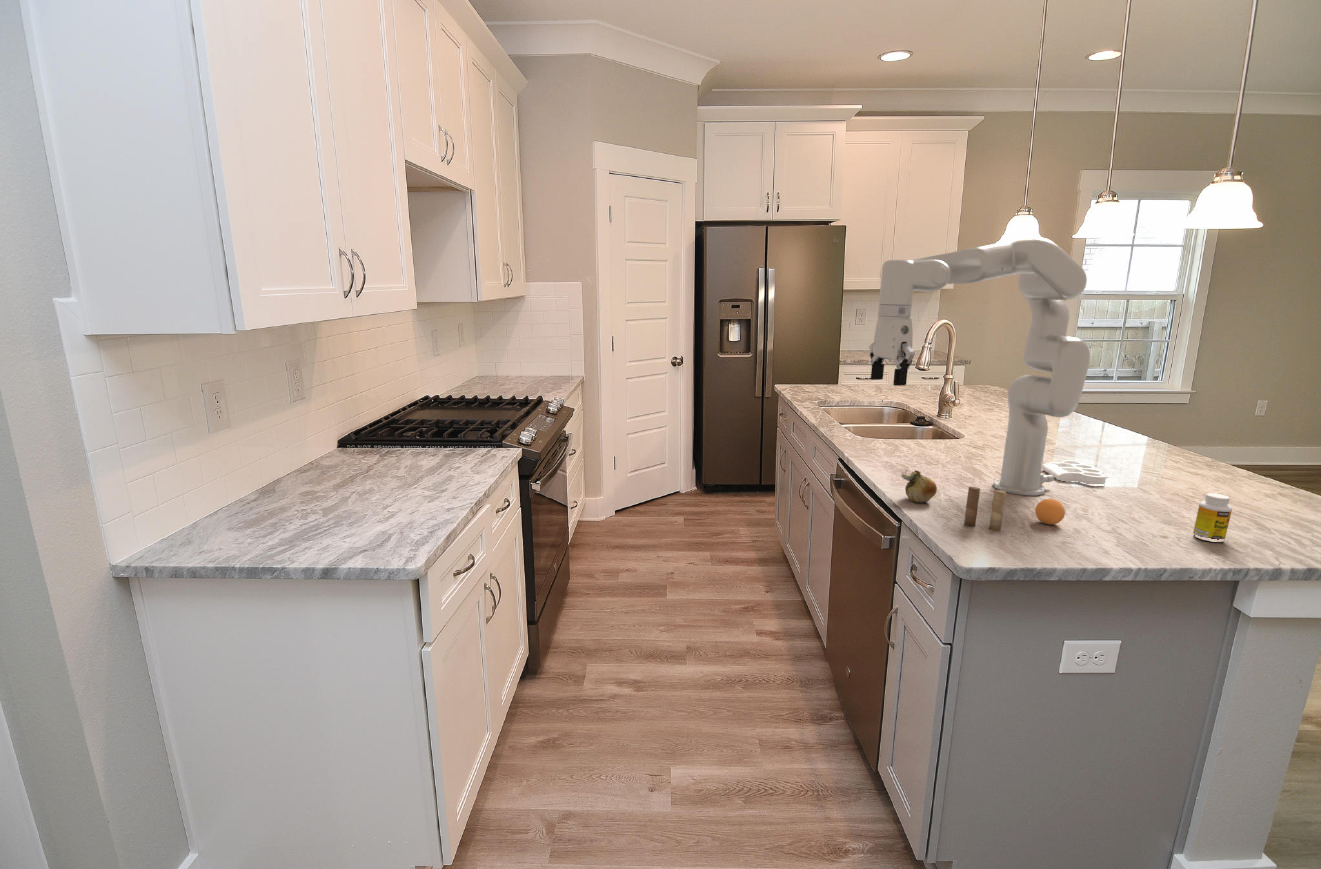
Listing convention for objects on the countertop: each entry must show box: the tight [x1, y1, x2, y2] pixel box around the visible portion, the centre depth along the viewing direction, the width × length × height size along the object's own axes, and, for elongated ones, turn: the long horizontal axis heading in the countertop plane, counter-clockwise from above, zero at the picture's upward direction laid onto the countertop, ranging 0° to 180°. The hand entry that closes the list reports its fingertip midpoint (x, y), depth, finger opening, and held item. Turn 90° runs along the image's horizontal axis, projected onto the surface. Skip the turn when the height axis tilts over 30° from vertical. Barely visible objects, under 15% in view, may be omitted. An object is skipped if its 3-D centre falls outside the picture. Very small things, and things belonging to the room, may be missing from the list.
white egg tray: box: [1042, 459, 1109, 485], centre depth 191 cm, size 3×18×15 cm
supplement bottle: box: [1192, 492, 1233, 540], centre depth 144 cm, size 6×6×10 cm
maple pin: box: [988, 489, 1007, 532], centre depth 148 cm, size 2×2×9 cm
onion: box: [901, 469, 938, 504], centre depth 167 cm, size 8×8×8 cm
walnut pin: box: [963, 486, 981, 528], centre depth 150 cm, size 2×2×9 cm
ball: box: [1034, 498, 1066, 525], centre depth 152 cm, size 6×6×6 cm
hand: (887, 382), depth 161 cm, fingers open, 9 cm apart
